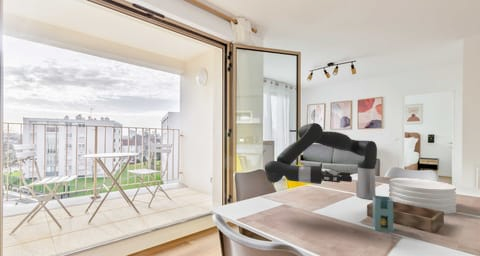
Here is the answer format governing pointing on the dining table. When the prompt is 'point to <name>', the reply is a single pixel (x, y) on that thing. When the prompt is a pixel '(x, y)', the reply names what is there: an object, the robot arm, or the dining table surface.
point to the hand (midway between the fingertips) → (350, 177)
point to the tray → (414, 216)
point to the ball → (383, 222)
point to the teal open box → (383, 213)
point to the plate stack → (423, 193)
